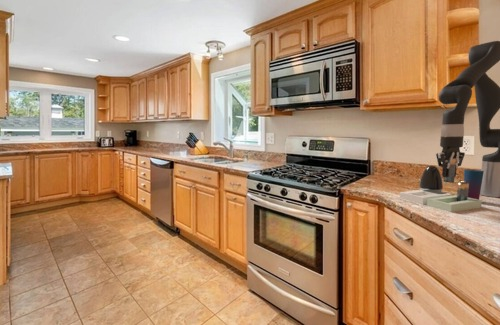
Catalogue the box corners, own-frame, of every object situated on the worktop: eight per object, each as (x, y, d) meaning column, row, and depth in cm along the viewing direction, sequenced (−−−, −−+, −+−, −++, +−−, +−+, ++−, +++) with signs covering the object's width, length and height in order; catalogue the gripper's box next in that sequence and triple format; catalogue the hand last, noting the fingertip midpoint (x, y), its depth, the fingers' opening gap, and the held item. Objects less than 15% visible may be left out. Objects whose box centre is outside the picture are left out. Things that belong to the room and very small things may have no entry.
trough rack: (455, 202, 121) (456, 195, 120) (480, 208, 111) (481, 200, 111) (426, 206, 115) (427, 198, 115) (450, 213, 106) (451, 204, 105)
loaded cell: (460, 203, 117) (461, 180, 116) (469, 205, 114) (471, 181, 112) (454, 204, 116) (455, 180, 115) (463, 206, 112) (465, 182, 111)
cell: (447, 180, 113) (449, 156, 112) (456, 182, 110) (458, 156, 108) (441, 181, 112) (442, 156, 111) (450, 182, 108) (451, 157, 107)
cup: (461, 199, 126) (464, 168, 124) (480, 201, 122) (483, 169, 120) (461, 202, 121) (464, 170, 119) (481, 205, 116) (484, 171, 115)
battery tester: (426, 196, 134) (427, 188, 134) (451, 201, 123) (452, 193, 122) (399, 199, 128) (400, 191, 128) (422, 205, 117) (423, 197, 117)
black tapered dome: (422, 196, 134) (424, 166, 132) (416, 191, 144) (417, 164, 142) (445, 197, 131) (448, 166, 129) (437, 192, 141) (439, 164, 139)
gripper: (454, 135, 114) (451, 174, 116) (430, 135, 110) (428, 176, 112) (473, 135, 107) (470, 177, 109) (449, 135, 103) (446, 179, 105)
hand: (448, 176), depth 110 cm, fingers closed on cell, 3 cm apart
